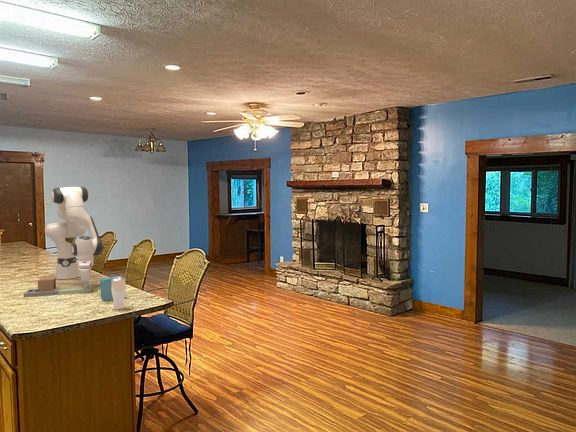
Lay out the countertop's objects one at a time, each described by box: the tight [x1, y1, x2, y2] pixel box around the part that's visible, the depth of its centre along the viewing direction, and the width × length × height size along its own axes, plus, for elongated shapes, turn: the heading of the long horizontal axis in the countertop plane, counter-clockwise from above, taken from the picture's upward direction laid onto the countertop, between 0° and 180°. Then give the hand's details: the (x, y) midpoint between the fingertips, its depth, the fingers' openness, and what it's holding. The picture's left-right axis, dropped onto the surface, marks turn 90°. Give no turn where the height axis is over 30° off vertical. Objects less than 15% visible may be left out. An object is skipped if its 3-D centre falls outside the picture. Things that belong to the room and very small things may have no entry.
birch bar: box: [56, 279, 86, 290], centre depth 270 cm, size 4×16×4 cm, turn 108°
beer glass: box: [111, 277, 127, 310], centre depth 230 cm, size 7×7×15 cm
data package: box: [99, 275, 124, 302], centre depth 250 cm, size 12×4×12 cm, turn 128°
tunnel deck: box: [23, 276, 93, 298], centre depth 268 cm, size 13×35×9 cm, turn 108°
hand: (86, 285), depth 273 cm, fingers closed on birch bar, 4 cm apart
